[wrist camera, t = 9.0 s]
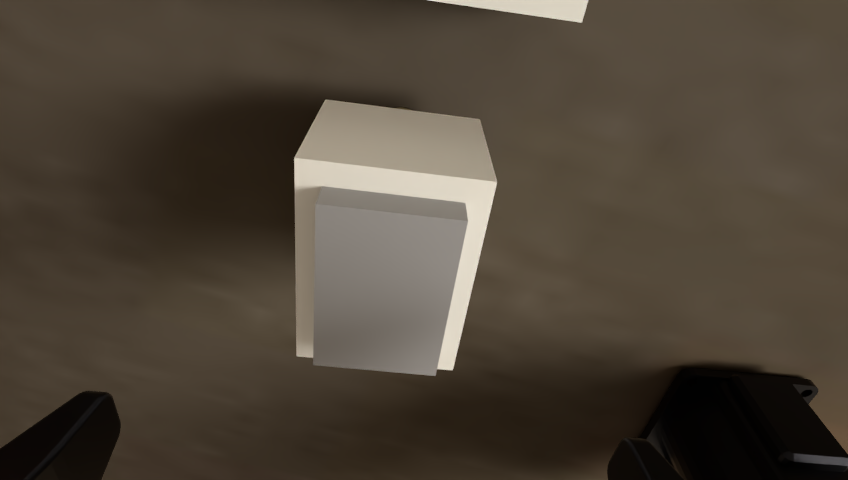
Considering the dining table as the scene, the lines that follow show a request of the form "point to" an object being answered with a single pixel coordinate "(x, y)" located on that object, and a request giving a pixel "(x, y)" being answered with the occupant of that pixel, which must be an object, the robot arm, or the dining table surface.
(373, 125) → the plug
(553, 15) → the socket
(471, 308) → the dining table surface
